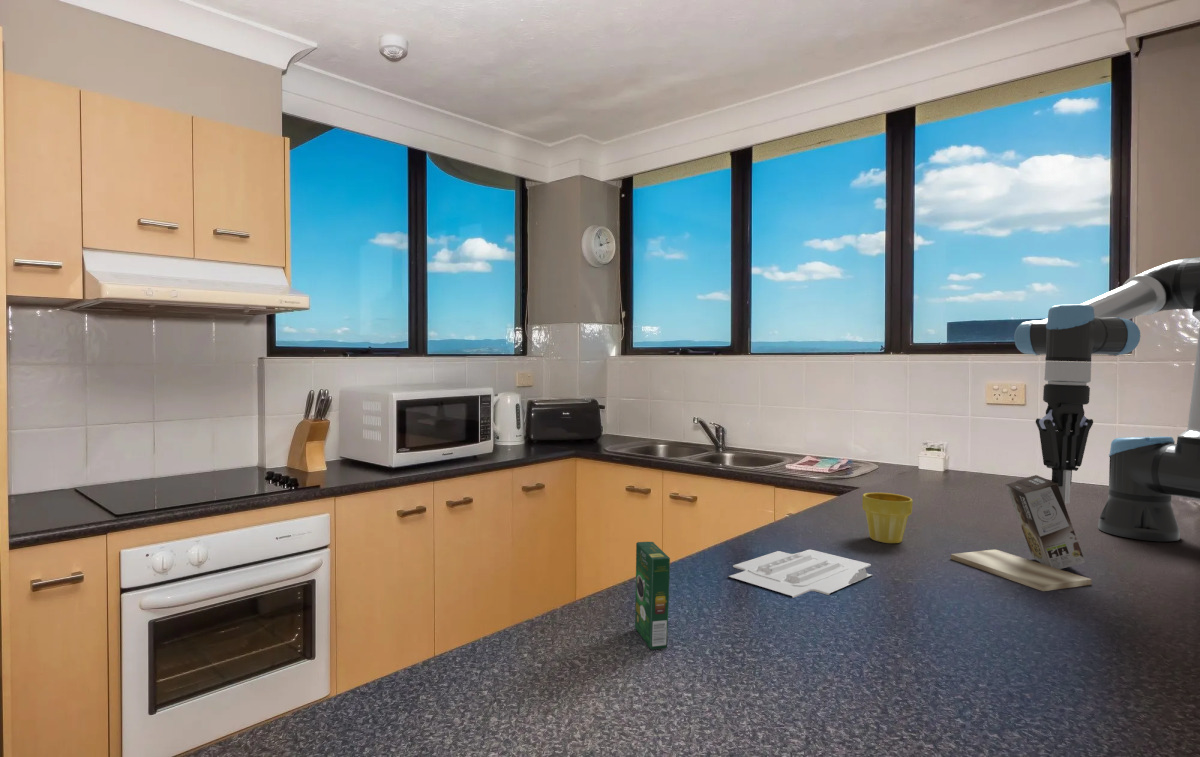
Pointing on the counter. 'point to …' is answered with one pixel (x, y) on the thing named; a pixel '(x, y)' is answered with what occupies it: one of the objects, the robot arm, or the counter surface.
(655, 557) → the coffee box
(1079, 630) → the counter surface
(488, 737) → the counter surface
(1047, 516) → the coffee box
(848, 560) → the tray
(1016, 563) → the birch board
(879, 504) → the plant pot
